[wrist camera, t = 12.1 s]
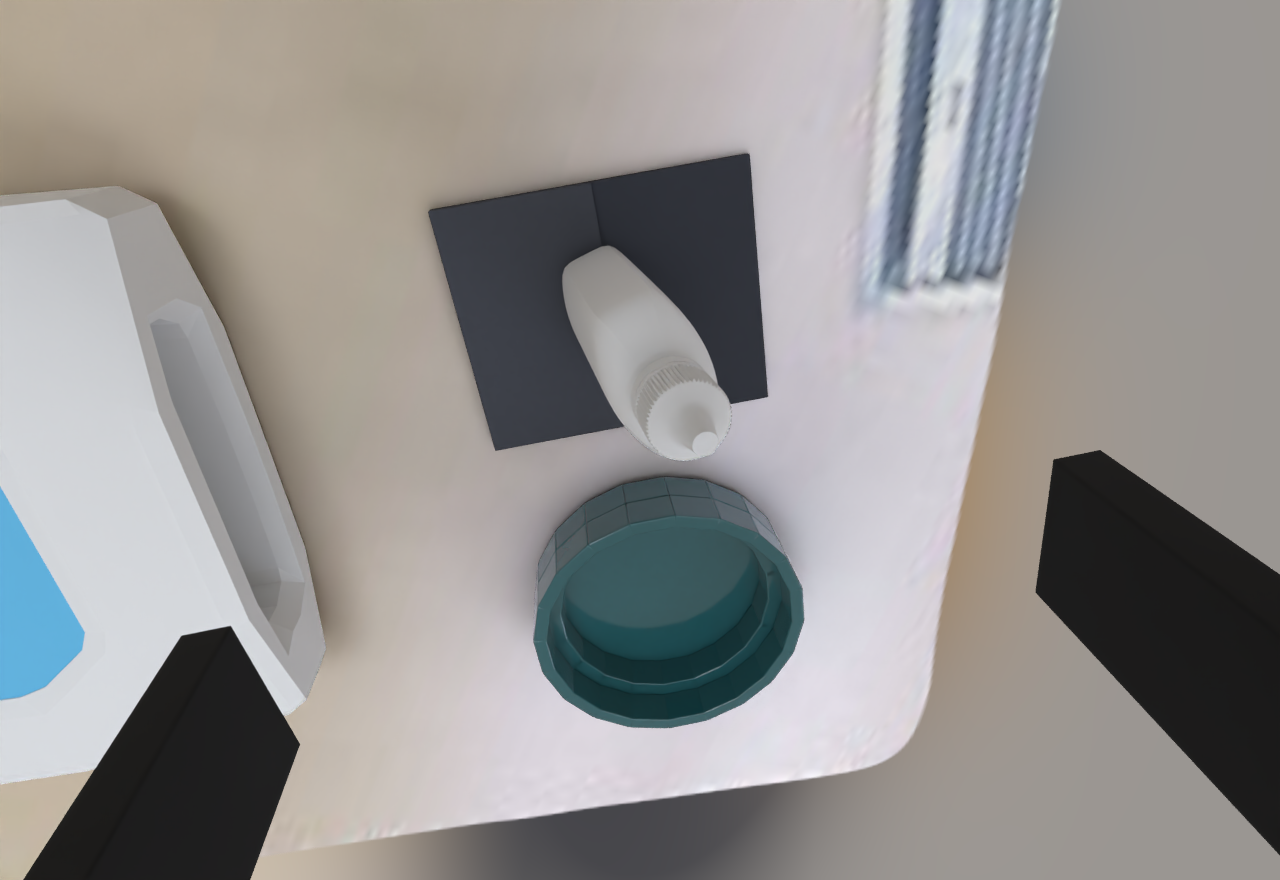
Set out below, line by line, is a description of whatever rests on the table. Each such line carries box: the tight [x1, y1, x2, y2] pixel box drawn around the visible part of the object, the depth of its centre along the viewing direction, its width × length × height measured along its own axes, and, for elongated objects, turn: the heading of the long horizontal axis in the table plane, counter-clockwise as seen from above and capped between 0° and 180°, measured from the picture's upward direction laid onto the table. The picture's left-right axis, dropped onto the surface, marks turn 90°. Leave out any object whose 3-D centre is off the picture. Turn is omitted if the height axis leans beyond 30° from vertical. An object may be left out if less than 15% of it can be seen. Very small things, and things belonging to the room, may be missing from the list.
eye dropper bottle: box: [562, 246, 732, 461], centre depth 23 cm, size 4×6×12 cm
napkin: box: [428, 153, 768, 451], centre depth 28 cm, size 10×12×1 cm
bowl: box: [533, 477, 804, 728], centre depth 34 cm, size 12×12×4 cm
